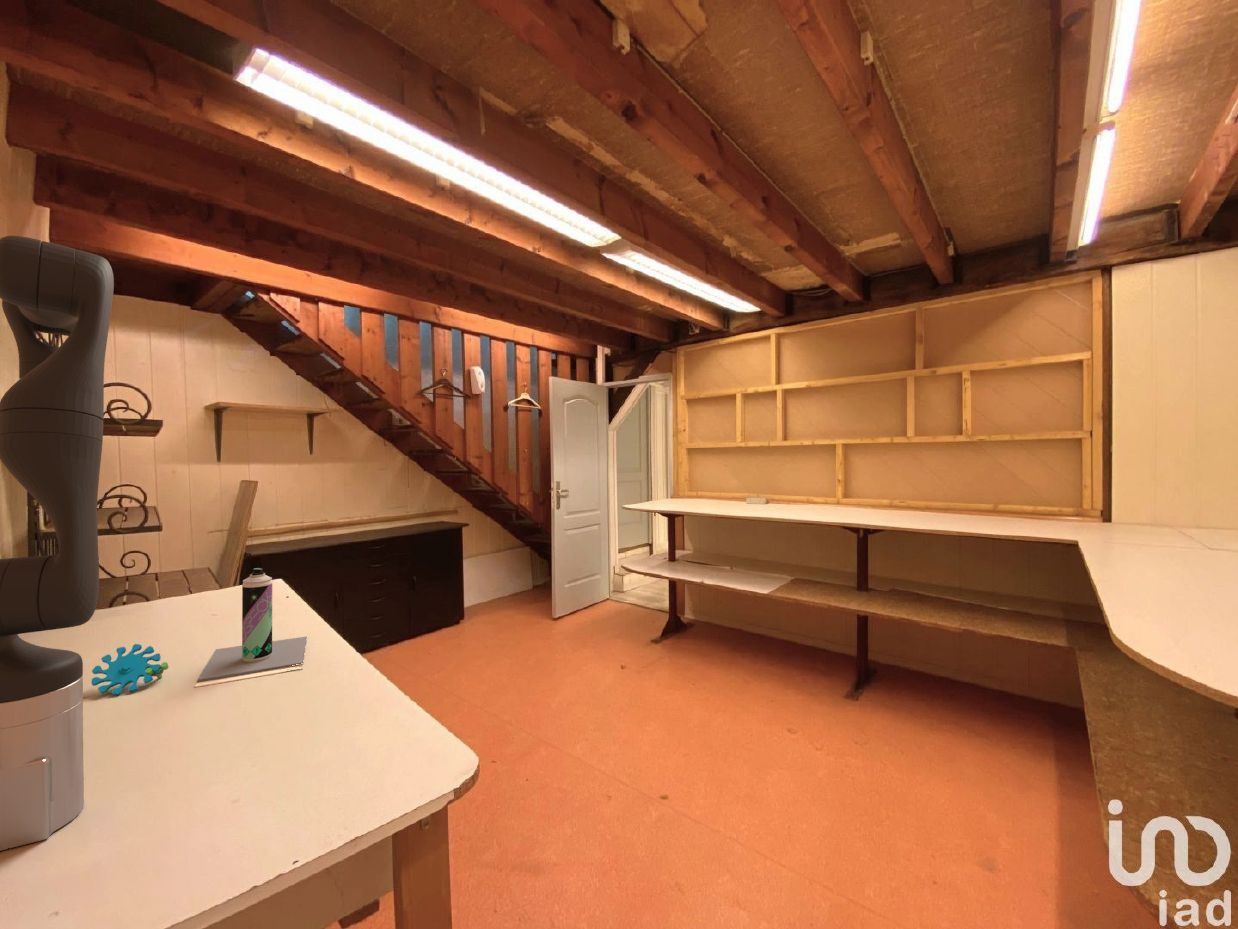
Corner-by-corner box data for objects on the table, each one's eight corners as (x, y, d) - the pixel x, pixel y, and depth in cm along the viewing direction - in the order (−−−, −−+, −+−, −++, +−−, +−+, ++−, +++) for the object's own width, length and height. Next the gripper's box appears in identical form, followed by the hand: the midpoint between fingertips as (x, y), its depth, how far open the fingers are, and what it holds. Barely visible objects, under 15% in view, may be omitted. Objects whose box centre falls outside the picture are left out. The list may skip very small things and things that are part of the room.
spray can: (236, 659, 112) (237, 569, 112) (263, 651, 117) (263, 564, 117) (250, 664, 109) (250, 572, 109) (277, 655, 114) (277, 567, 114)
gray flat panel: (302, 669, 108) (302, 667, 108) (194, 687, 100) (194, 685, 100) (306, 638, 127) (306, 636, 126) (215, 651, 118) (215, 649, 118)
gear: (78, 694, 93) (104, 642, 100) (86, 707, 97) (111, 656, 103) (155, 691, 98) (175, 642, 104) (160, 703, 101) (179, 655, 108)
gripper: (60, 404, 85) (60, 500, 86) (96, 410, 98) (96, 494, 98) (-6, 401, 82) (-5, 502, 82) (40, 408, 94) (41, 495, 94)
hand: (50, 497), depth 90 cm, fingers open, 8 cm apart
